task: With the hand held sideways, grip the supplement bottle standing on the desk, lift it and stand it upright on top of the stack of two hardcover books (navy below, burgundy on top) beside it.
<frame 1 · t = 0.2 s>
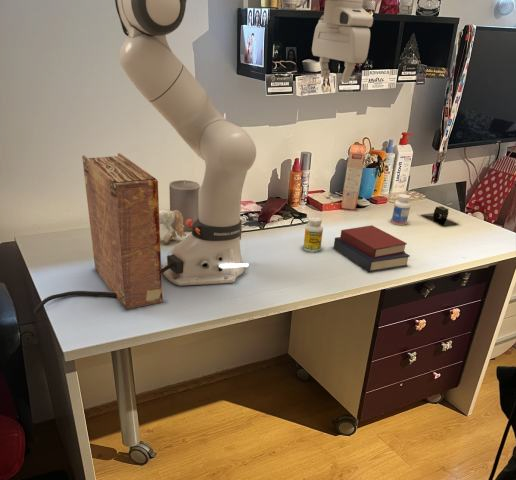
hand: (334, 79, 135), 48 cm above the table, tool pointing down, fingers open, 8 cm apart
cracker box: (349, 204, 206), on the table
book stack: (369, 257, 163), on the table
unicorn figurine: (154, 245, 161), on the table
supplement bottle: (311, 249, 166), on the table
pill bottle: (398, 223, 191), on the table
pillar candle: (185, 226, 176), on the table
book: (127, 286, 138), on the table
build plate: (439, 220, 196), on the table
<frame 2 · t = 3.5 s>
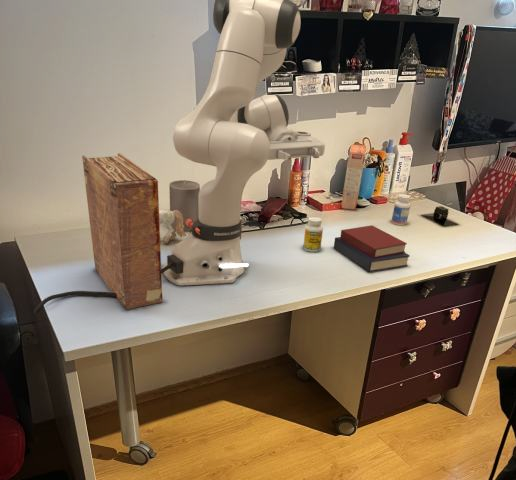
hand: (303, 156, 160), 25 cm above the table, tool horizontal, fingers open, 8 cm apart
nothing on the table moved.
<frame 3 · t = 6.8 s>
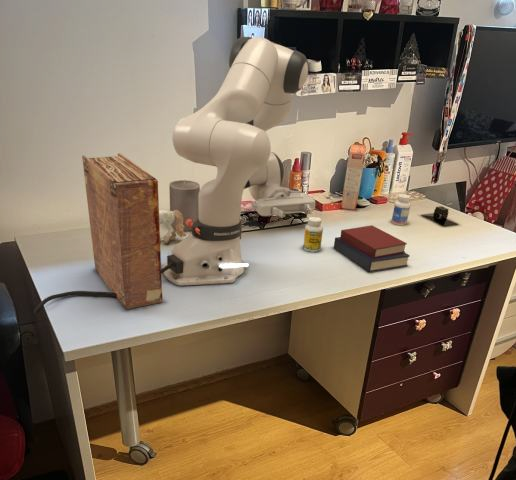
hand: (296, 213, 170), 8 cm above the table, tool horizontal, fingers open, 8 cm apart
nothing on the table moved.
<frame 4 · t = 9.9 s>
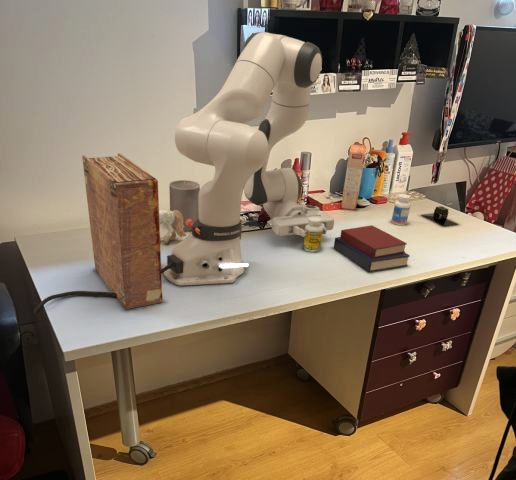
hand: (315, 233, 162), 6 cm above the table, tool horizontal, fingers closed on supplement bottle, 5 cm apart
supplement bottle: (311, 249, 166), on the table, touching gripper
everything else where it was.
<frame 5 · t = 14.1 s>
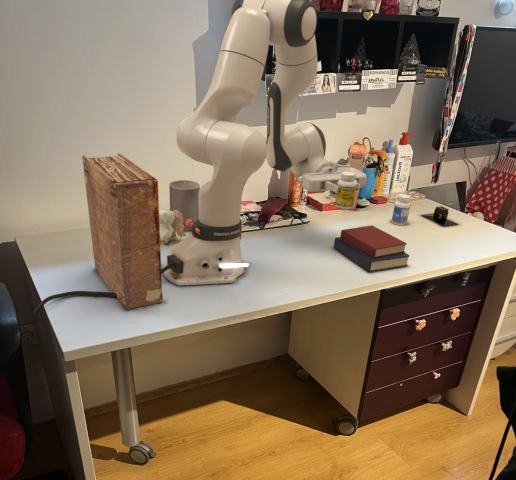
hand: (348, 188, 153), 20 cm above the table, tool horizontal, fingers closed on supplement bottle, 5 cm apart
supplement bottle: (343, 207, 157), point 14 cm above the table, touching gripper
everything else where it was.
when the fingers open (12 cm above the table, at t = 18.4 s): supplement bottle stays where it is, resting on book stack.
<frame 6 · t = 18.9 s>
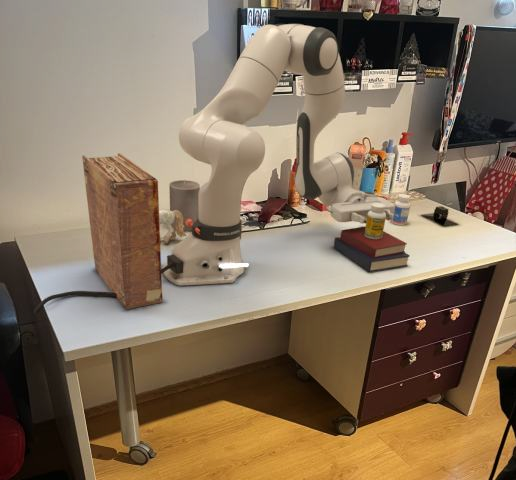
hand: (378, 219, 155), 12 cm above the table, tool horizontal, fingers open, 8 cm apart
supplement bottle: (372, 237, 159), point 6 cm above the table, touching book stack
everything else where it was.
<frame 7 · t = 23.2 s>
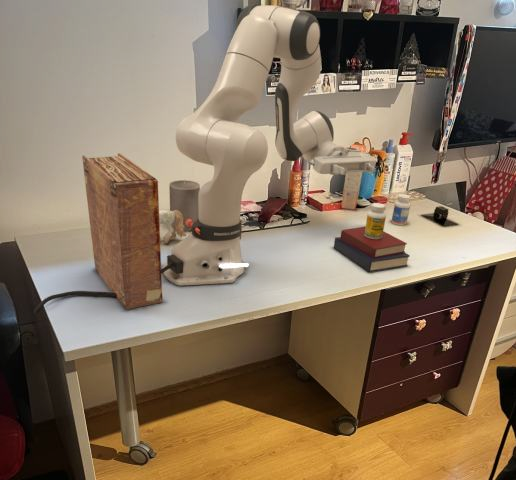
hand: (358, 171, 159), 23 cm above the table, tool horizontal, fingers open, 8 cm apart
nothing on the table moved.
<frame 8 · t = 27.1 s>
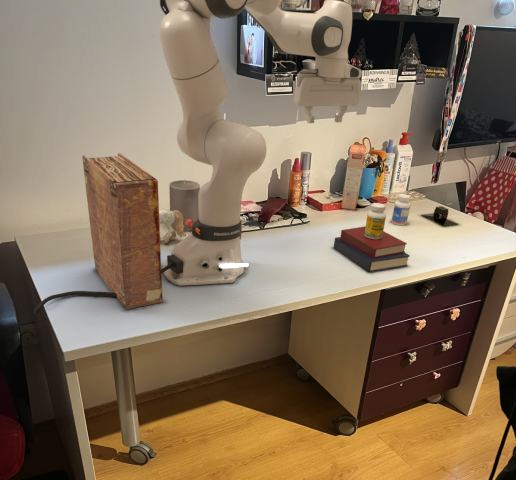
hand: (324, 122, 155), 35 cm above the table, tool pointing down, fingers open, 8 cm apart
nothing on the table moved.
at the end: supplement bottle inside the target area on the book stack (0.1 cm from its centre), point 6.3 cm above the book stack's base; supplement bottle touching book stack; supplement bottle tilted 0° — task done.
